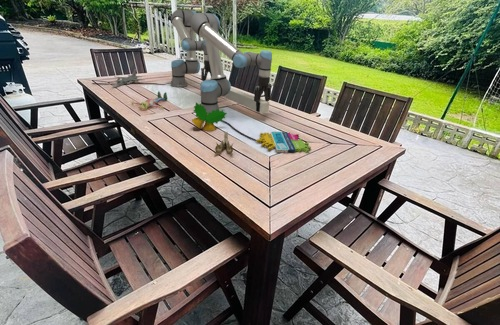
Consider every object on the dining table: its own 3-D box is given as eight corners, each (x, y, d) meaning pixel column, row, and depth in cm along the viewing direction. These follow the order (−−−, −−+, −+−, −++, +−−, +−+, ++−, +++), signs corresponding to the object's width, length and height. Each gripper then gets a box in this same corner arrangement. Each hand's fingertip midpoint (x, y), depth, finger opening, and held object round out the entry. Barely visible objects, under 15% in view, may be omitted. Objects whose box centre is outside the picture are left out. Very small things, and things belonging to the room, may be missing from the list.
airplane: (108, 79, 258) (106, 69, 253) (142, 77, 271) (140, 67, 266) (110, 89, 230) (108, 78, 224) (148, 87, 243) (146, 76, 238)
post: (268, 112, 181) (269, 102, 177) (262, 113, 177) (262, 103, 174) (209, 87, 231) (209, 79, 228) (203, 88, 228) (203, 79, 224)
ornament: (218, 133, 171) (224, 110, 169) (221, 134, 163) (227, 111, 161) (186, 125, 162) (192, 101, 160) (189, 126, 155) (195, 101, 153)
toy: (179, 93, 205) (158, 103, 179) (179, 102, 208) (159, 113, 183) (147, 89, 210) (122, 98, 184) (148, 98, 213) (124, 108, 188)
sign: (313, 150, 142) (258, 149, 139) (312, 153, 143) (258, 152, 140) (301, 132, 164) (254, 130, 161) (301, 134, 165) (254, 133, 162)
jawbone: (234, 135, 144) (233, 125, 135) (233, 160, 138) (232, 151, 129) (217, 135, 144) (216, 125, 135) (216, 160, 138) (214, 150, 129)
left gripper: (215, 59, 223) (215, 86, 235) (196, 59, 212) (197, 88, 224) (220, 60, 218) (220, 88, 230) (200, 61, 207) (201, 90, 219)
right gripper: (270, 74, 178) (267, 107, 190) (249, 76, 167) (247, 111, 178) (278, 76, 173) (274, 110, 185) (257, 78, 162) (254, 114, 174)
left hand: (208, 88), depth 227 cm, fingers closed on post, 6 cm apart
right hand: (261, 110), depth 182 cm, fingers closed on post, 6 cm apart
